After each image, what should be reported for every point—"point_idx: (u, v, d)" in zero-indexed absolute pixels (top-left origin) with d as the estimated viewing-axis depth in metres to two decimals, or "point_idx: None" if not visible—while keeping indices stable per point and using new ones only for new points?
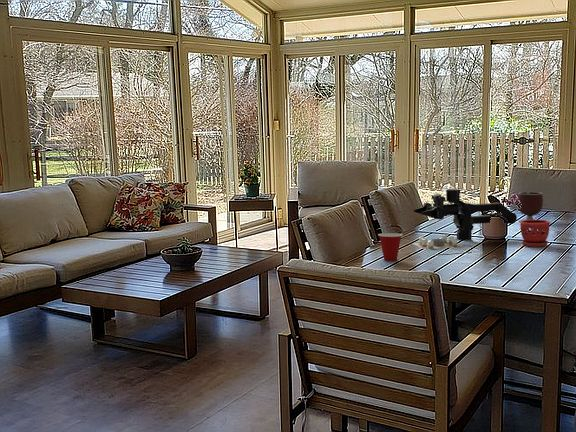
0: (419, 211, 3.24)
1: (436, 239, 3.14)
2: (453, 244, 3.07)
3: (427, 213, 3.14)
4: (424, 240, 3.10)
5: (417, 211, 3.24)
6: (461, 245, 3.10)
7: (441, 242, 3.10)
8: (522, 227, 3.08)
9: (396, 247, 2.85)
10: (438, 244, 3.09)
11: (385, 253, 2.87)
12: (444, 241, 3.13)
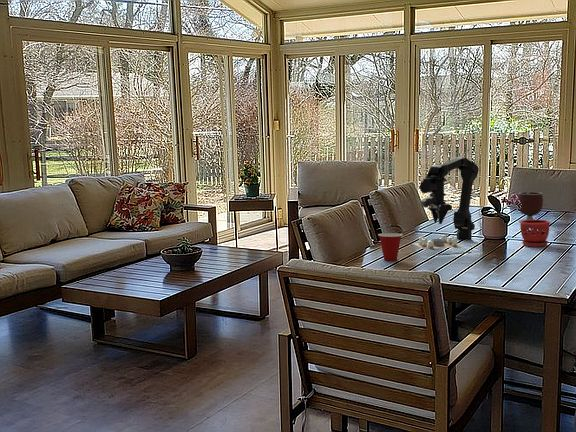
0: (436, 216, 3.13)
1: (436, 239, 3.14)
2: (453, 244, 3.07)
3: (441, 218, 3.07)
4: (424, 240, 3.10)
5: (436, 218, 3.13)
6: (461, 245, 3.10)
7: (441, 242, 3.10)
8: (522, 227, 3.08)
9: (396, 247, 2.85)
10: (438, 244, 3.09)
11: (385, 253, 2.87)
12: (444, 241, 3.13)
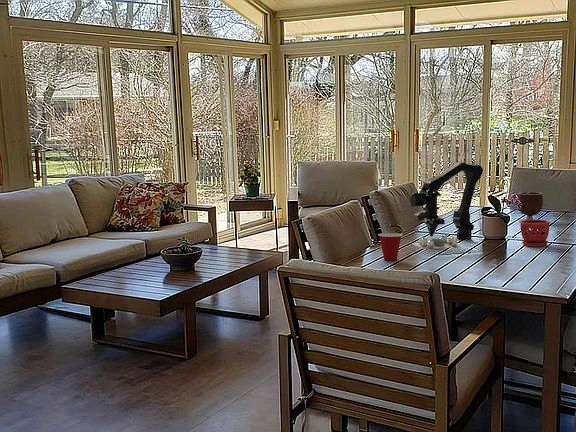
0: None
1: (436, 239, 3.14)
2: (453, 244, 3.07)
3: (432, 230, 3.19)
4: (424, 240, 3.10)
5: None
6: (461, 245, 3.10)
7: (441, 242, 3.10)
8: (522, 227, 3.08)
9: (396, 247, 2.85)
10: (438, 244, 3.09)
11: (385, 253, 2.87)
12: (444, 241, 3.13)
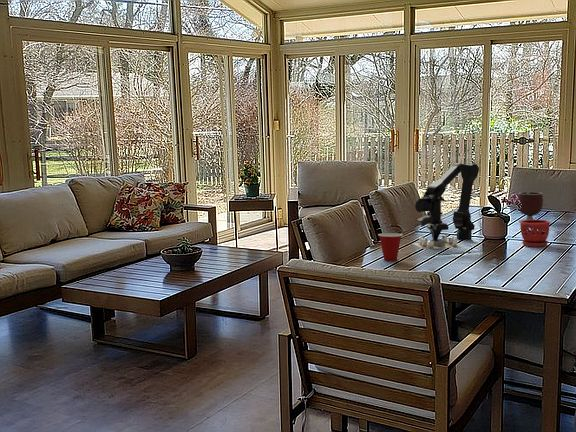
0: None
1: (437, 239, 3.13)
2: (453, 244, 3.07)
3: (435, 236, 3.14)
4: (424, 240, 3.10)
5: None
6: (461, 245, 3.10)
7: (442, 242, 3.09)
8: (522, 227, 3.08)
9: (396, 247, 2.85)
10: (439, 244, 3.09)
11: (385, 253, 2.87)
12: None
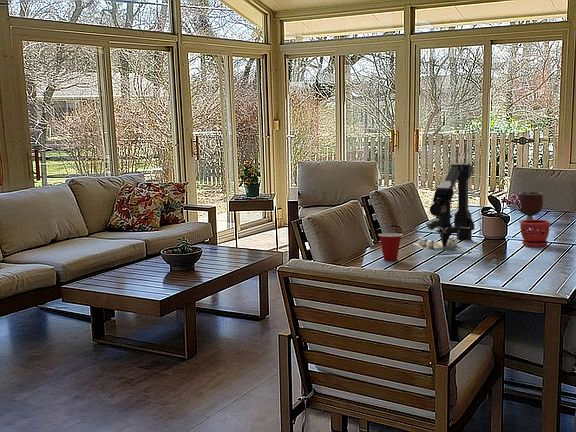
0: None
1: (447, 245, 3.04)
2: (453, 244, 3.07)
3: (445, 239, 3.04)
4: (424, 240, 3.10)
5: None
6: (461, 245, 3.10)
7: (453, 248, 3.00)
8: (522, 227, 3.08)
9: (396, 247, 2.85)
10: (450, 250, 2.99)
11: (385, 253, 2.87)
12: (455, 246, 3.03)
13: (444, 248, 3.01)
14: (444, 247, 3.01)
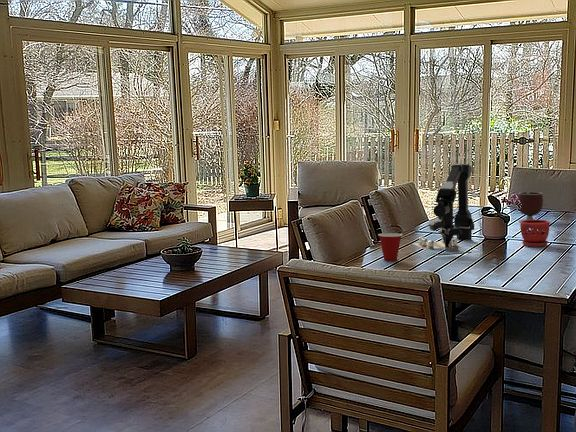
0: None
1: (449, 246, 3.01)
2: (453, 244, 3.07)
3: (447, 240, 3.02)
4: (424, 240, 3.10)
5: None
6: (461, 245, 3.10)
7: (456, 249, 2.97)
8: (522, 227, 3.08)
9: (396, 247, 2.85)
10: (453, 251, 2.97)
11: (385, 253, 2.87)
12: None
13: (447, 249, 2.98)
14: (447, 248, 2.98)
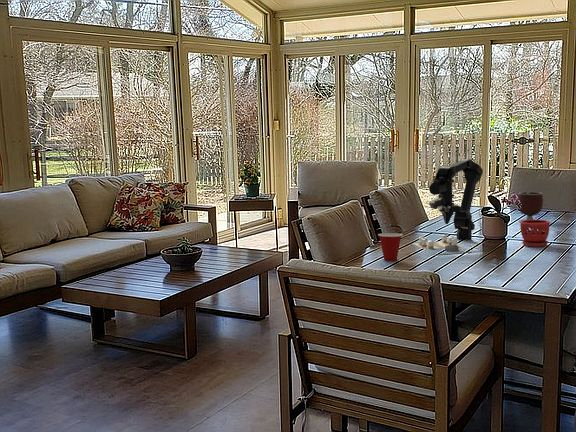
0: None
1: (450, 246, 3.01)
2: (453, 244, 3.07)
3: (447, 218, 3.12)
4: (424, 240, 3.10)
5: None
6: (461, 245, 3.10)
7: (456, 249, 2.97)
8: (522, 227, 3.08)
9: (396, 247, 2.85)
10: (453, 251, 2.97)
11: (385, 253, 2.87)
12: None
13: (447, 249, 2.98)
14: (447, 248, 2.98)
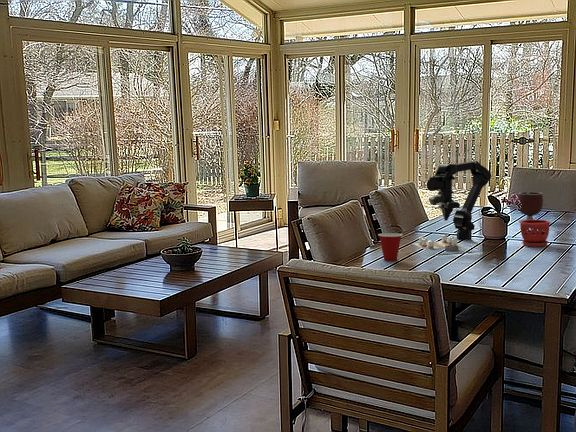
0: None
1: (450, 246, 3.01)
2: (453, 244, 3.07)
3: (446, 214, 3.17)
4: (424, 240, 3.10)
5: None
6: (461, 245, 3.10)
7: (456, 249, 2.97)
8: (522, 227, 3.08)
9: (396, 247, 2.85)
10: (453, 251, 2.97)
11: (385, 253, 2.87)
12: None
13: (447, 249, 2.98)
14: (447, 248, 2.98)
